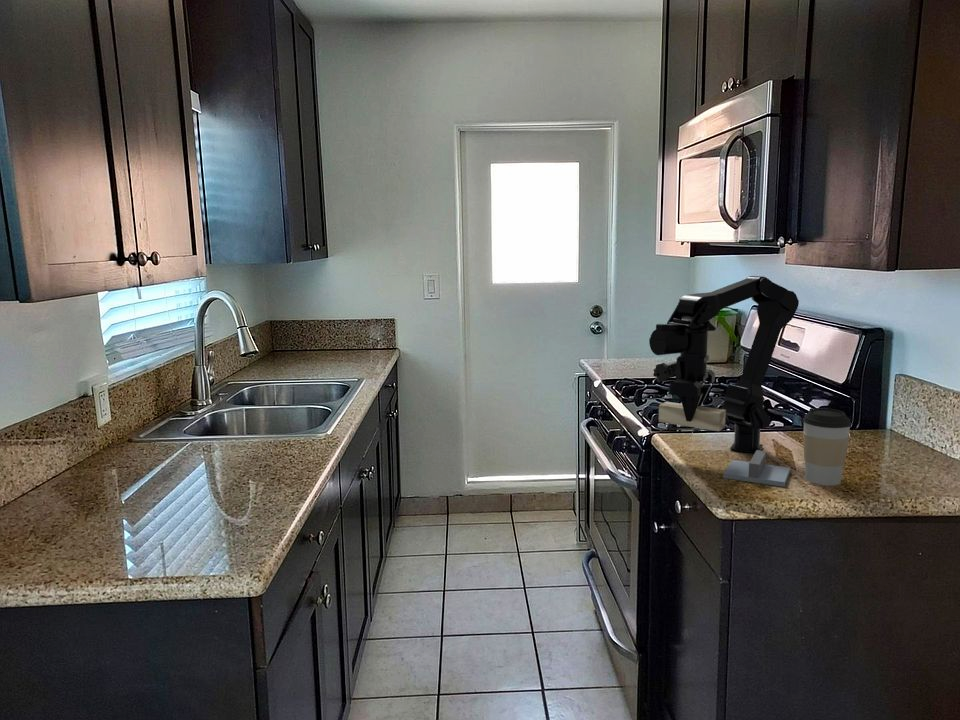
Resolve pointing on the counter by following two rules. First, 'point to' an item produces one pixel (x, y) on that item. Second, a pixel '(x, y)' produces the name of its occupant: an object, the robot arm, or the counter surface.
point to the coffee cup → (825, 445)
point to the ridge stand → (757, 471)
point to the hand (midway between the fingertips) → (691, 418)
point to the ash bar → (701, 419)
